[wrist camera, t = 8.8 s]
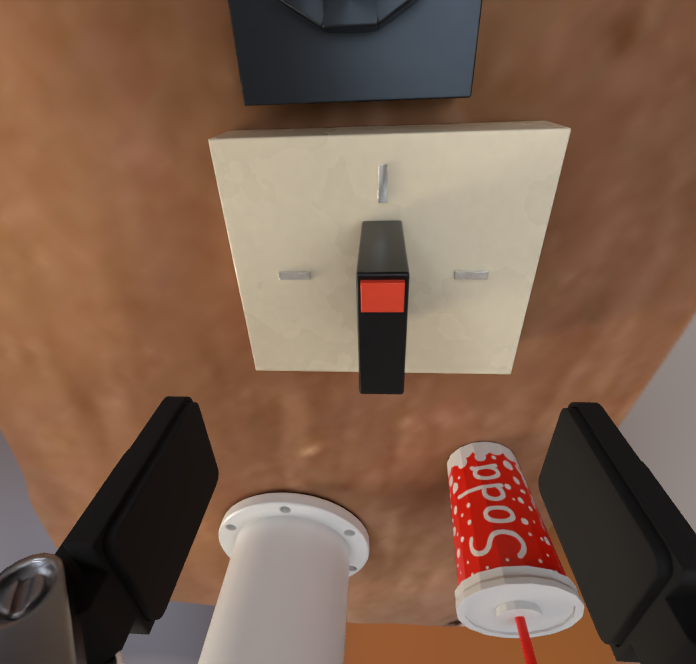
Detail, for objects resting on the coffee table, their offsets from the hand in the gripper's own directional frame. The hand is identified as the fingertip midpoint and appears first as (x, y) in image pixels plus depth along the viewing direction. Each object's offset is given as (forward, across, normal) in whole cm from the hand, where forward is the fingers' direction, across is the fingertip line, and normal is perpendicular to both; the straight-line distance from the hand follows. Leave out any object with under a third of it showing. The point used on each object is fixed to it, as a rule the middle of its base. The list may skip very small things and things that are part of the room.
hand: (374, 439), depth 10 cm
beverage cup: (+12, -7, +14) cm, 20 cm away
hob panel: (+11, 0, -1) cm, 11 cm away
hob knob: (+8, 0, -1) cm, 9 cm away
